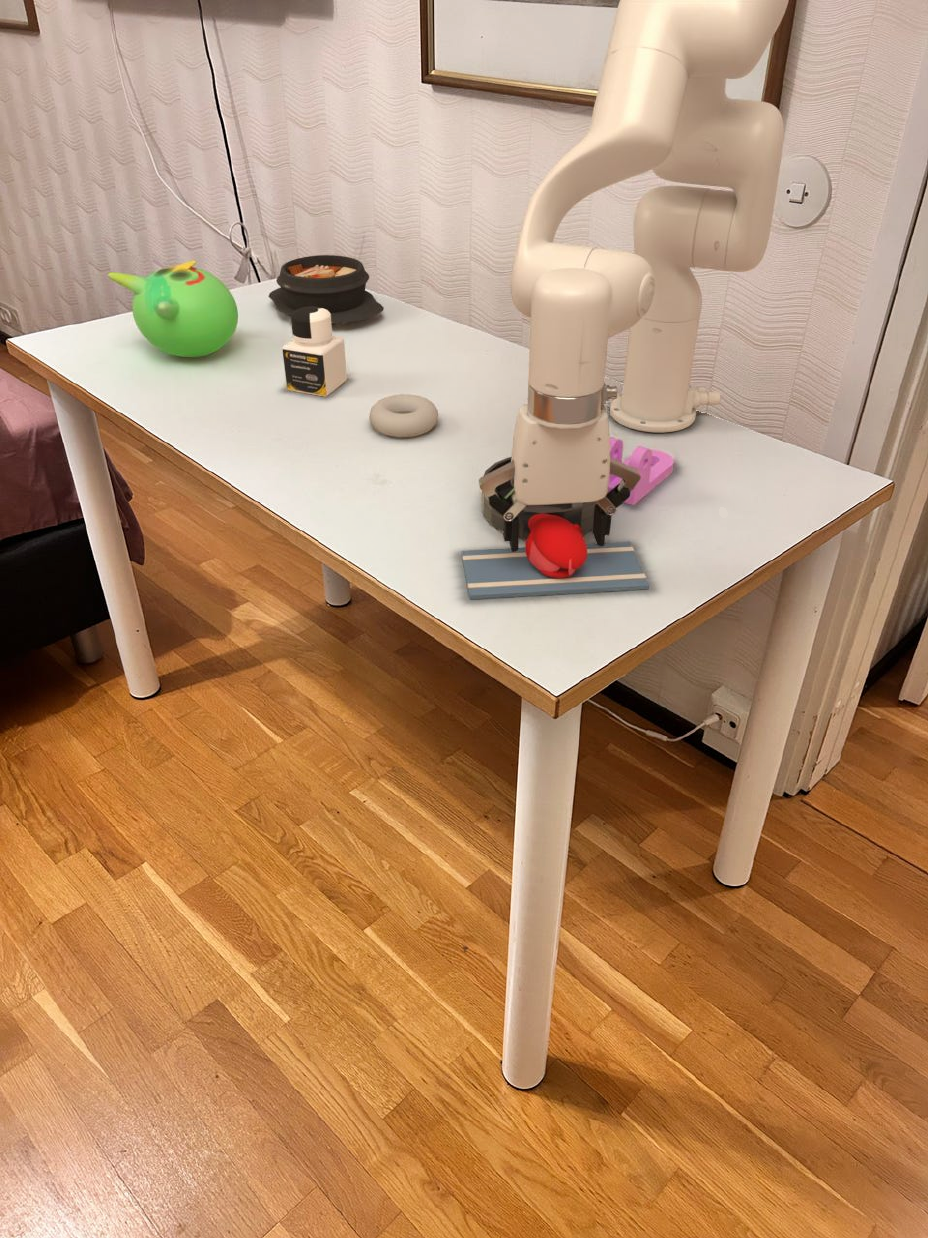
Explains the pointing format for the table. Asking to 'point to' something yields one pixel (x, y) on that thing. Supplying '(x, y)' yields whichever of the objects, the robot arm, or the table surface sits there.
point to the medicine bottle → (314, 354)
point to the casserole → (326, 288)
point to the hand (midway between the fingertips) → (555, 542)
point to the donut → (403, 415)
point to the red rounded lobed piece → (555, 545)
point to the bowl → (537, 509)
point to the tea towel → (519, 577)
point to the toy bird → (182, 309)
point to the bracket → (641, 468)
